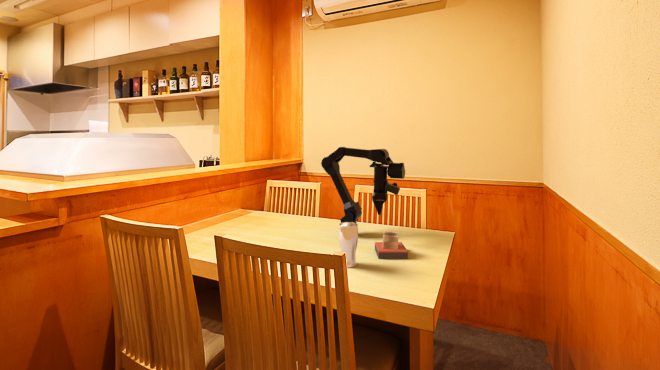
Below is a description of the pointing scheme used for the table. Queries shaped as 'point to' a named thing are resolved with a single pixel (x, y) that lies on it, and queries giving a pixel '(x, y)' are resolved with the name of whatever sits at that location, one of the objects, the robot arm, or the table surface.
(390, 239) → the masu
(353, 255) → the beer glass
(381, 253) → the red square block
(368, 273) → the table surface
